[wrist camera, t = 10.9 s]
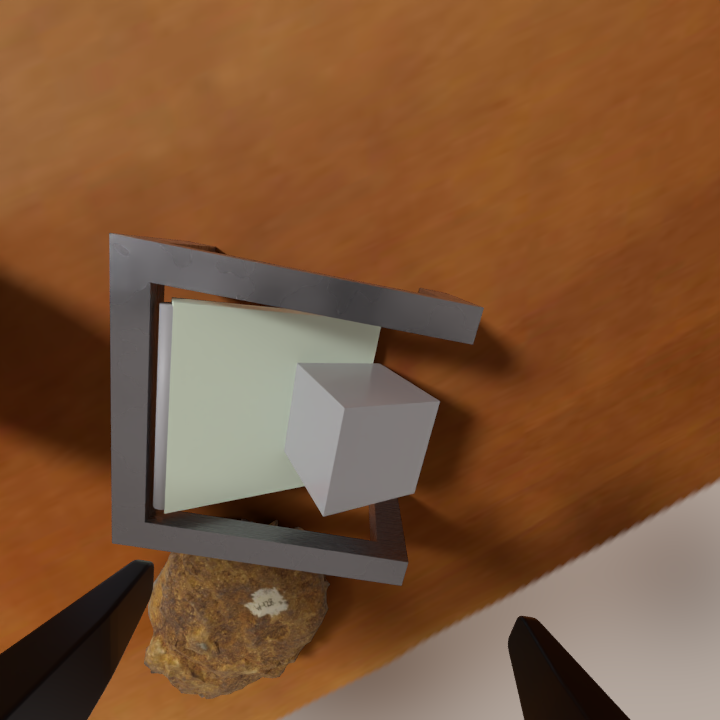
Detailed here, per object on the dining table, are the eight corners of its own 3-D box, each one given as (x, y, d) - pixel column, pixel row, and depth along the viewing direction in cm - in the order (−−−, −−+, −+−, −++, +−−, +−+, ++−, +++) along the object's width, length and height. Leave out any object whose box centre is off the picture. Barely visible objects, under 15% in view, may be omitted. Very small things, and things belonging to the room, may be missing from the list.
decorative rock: (273, 671, 28) (351, 533, 25) (263, 737, 24) (354, 584, 21) (133, 635, 26) (198, 480, 23) (97, 701, 22) (170, 525, 19)
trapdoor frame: (175, 469, 22) (111, 543, 16) (187, 241, 18) (109, 233, 12) (390, 503, 23) (401, 585, 17) (445, 293, 19) (483, 307, 13)
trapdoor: (152, 501, 17) (153, 516, 16) (159, 296, 14) (160, 301, 13) (341, 467, 22) (348, 477, 21) (372, 317, 19) (382, 321, 19)
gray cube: (283, 451, 18) (323, 516, 14) (297, 362, 17) (344, 408, 13) (362, 440, 21) (414, 493, 17) (379, 363, 20) (440, 401, 16)
